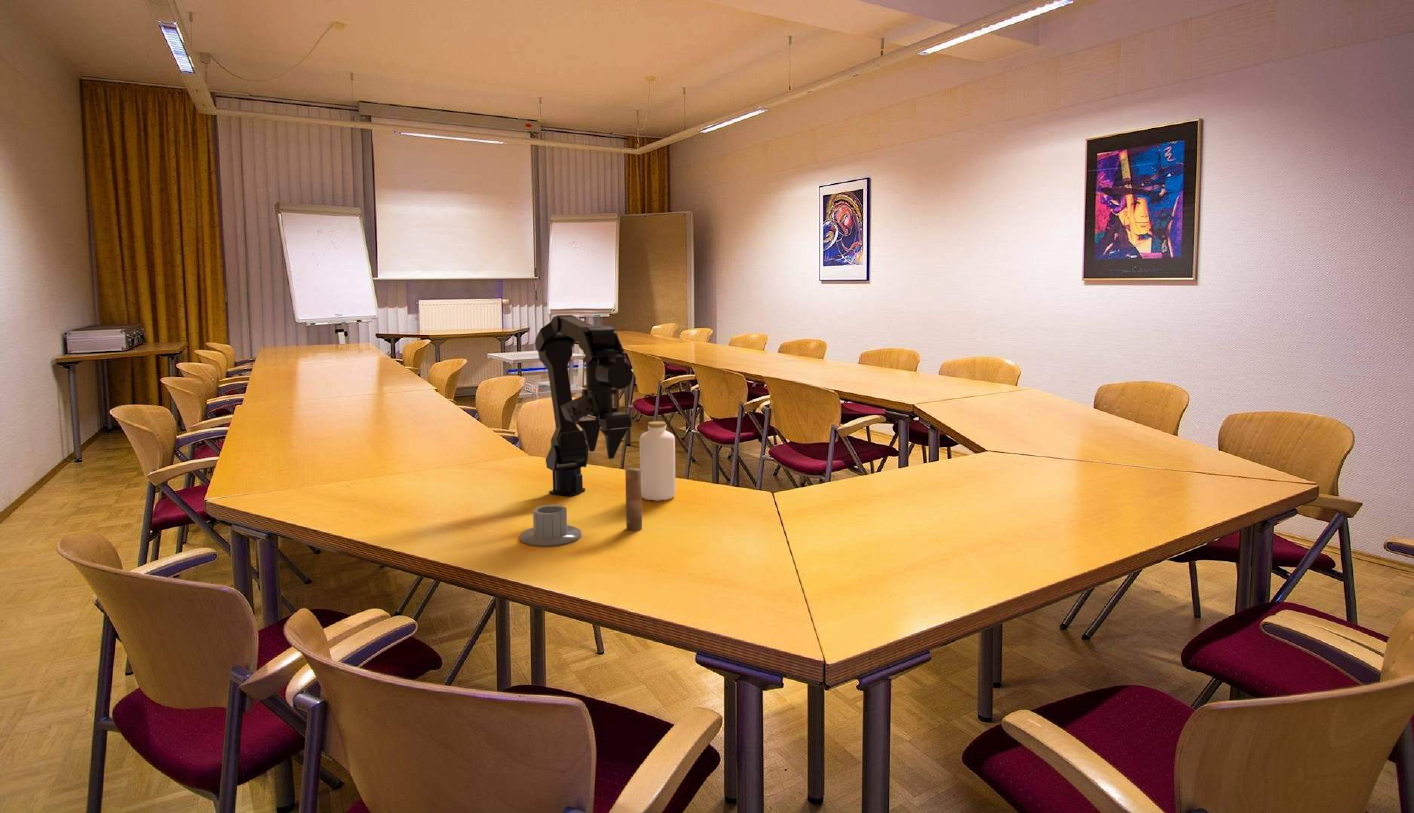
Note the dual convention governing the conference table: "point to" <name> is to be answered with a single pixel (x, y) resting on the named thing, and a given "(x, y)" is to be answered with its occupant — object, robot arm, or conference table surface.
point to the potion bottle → (657, 462)
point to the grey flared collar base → (550, 528)
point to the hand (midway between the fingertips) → (601, 454)
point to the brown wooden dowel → (633, 499)
